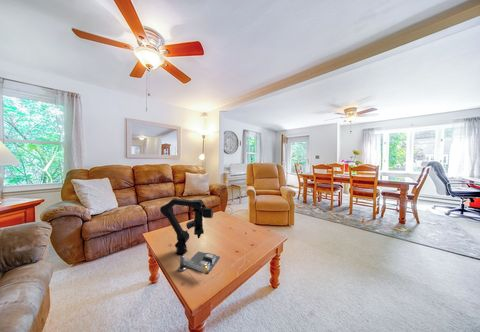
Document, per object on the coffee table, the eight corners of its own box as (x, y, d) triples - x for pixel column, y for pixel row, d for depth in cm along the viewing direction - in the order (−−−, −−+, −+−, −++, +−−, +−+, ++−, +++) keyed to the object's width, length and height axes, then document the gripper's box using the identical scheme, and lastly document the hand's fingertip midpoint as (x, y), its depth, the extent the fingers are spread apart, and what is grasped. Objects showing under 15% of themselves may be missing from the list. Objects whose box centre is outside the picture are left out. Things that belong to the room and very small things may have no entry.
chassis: (184, 266, 101) (184, 262, 101) (198, 252, 116) (198, 248, 116) (208, 273, 95) (208, 268, 95) (220, 257, 110) (220, 253, 110)
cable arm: (182, 264, 97) (182, 259, 97) (185, 262, 99) (185, 257, 99) (205, 273, 89) (205, 268, 89) (208, 271, 92) (208, 265, 91)
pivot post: (176, 270, 98) (176, 257, 97) (181, 265, 102) (181, 253, 102) (182, 272, 96) (182, 259, 95) (187, 267, 101) (187, 254, 100)
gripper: (187, 213, 120) (187, 233, 121) (186, 223, 102) (186, 246, 103) (202, 212, 123) (202, 231, 124) (203, 222, 105) (203, 244, 106)
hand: (198, 237), depth 114 cm, fingers closed
